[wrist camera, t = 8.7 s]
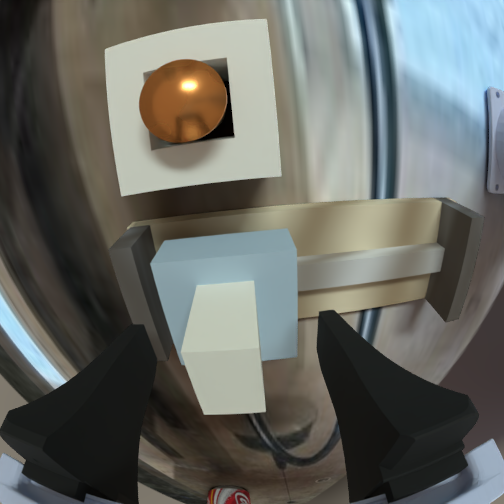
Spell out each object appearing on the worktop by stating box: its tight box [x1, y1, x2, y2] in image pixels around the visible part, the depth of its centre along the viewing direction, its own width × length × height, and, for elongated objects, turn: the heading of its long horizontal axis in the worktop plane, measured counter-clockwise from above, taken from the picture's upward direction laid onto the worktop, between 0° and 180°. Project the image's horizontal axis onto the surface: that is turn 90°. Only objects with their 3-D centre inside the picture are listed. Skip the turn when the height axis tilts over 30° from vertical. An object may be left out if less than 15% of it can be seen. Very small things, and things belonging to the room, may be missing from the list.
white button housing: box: [105, 19, 281, 196], centre depth 11 cm, size 6×6×5 cm
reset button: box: [139, 59, 227, 143], centre depth 10 cm, size 3×3×6 cm
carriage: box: [150, 228, 298, 415], centre depth 12 cm, size 6×6×6 cm
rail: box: [108, 198, 485, 361], centre depth 15 cm, size 20×7×4 cm, turn 95°
